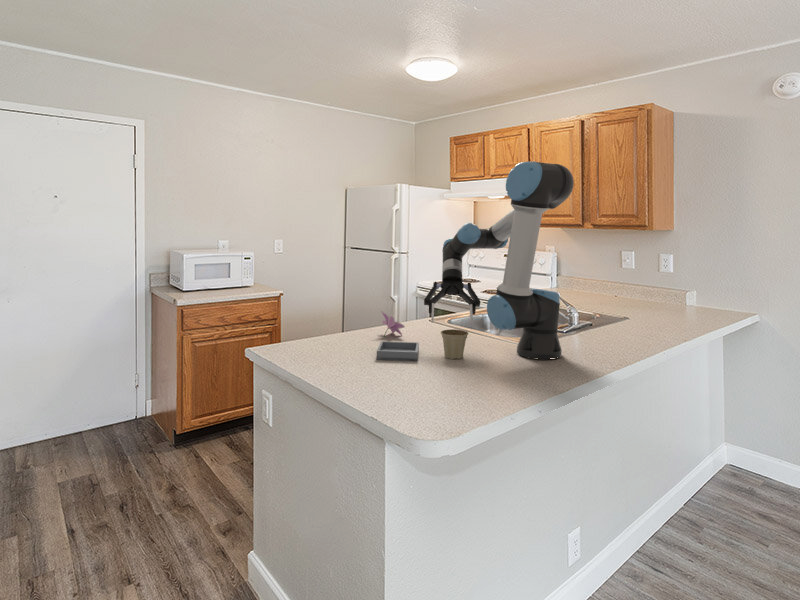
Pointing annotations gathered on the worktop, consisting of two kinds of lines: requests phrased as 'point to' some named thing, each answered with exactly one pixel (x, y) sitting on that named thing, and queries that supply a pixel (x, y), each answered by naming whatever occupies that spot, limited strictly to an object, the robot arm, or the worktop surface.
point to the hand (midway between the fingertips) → (451, 320)
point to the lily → (392, 324)
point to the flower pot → (454, 343)
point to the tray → (398, 351)
